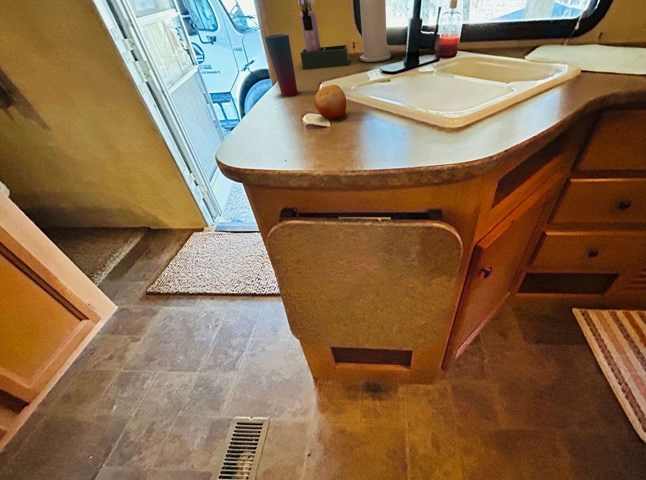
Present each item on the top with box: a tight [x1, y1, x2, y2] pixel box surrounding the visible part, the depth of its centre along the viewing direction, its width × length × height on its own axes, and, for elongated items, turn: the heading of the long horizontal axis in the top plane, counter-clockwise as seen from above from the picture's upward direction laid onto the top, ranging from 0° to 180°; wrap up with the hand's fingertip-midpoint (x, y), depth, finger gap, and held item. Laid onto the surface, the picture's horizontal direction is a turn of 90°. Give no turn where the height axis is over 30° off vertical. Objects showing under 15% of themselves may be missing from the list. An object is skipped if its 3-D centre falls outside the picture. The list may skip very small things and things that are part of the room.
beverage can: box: [299, 9, 322, 52], centre depth 120 cm, size 6×6×15 cm
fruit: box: [313, 84, 347, 120], centre depth 79 cm, size 8×8×8 cm
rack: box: [299, 44, 350, 70], centre depth 125 cm, size 18×9×5 cm, turn 90°
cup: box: [264, 32, 298, 98], centre depth 94 cm, size 7×7×15 cm
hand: (310, 28), depth 118 cm, fingers closed on beverage can, 6 cm apart
